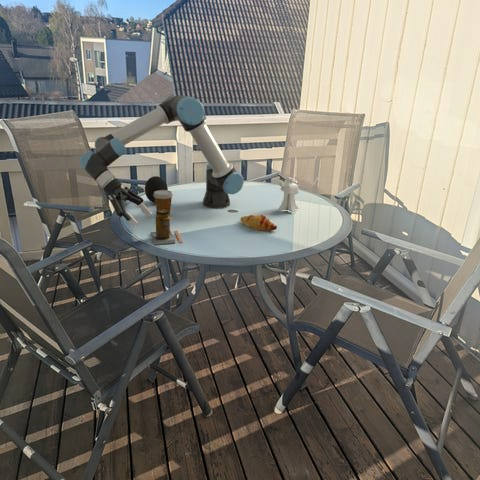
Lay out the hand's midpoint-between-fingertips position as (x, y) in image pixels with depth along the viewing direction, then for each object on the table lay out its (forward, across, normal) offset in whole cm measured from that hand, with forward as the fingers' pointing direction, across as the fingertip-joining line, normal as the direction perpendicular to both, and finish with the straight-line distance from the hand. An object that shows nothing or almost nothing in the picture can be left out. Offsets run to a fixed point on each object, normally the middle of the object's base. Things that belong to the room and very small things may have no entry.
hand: (143, 220), depth 181 cm
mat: (+12, 0, +1) cm, 12 cm away
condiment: (+12, +1, +2) cm, 12 cm away
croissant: (+38, -28, +27) cm, 55 cm away
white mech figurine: (+46, -59, +35) cm, 82 cm away
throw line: (+16, -3, +6) cm, 17 cm away
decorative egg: (-5, -46, -16) cm, 49 cm away
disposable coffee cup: (+3, -29, -7) cm, 30 cm away
